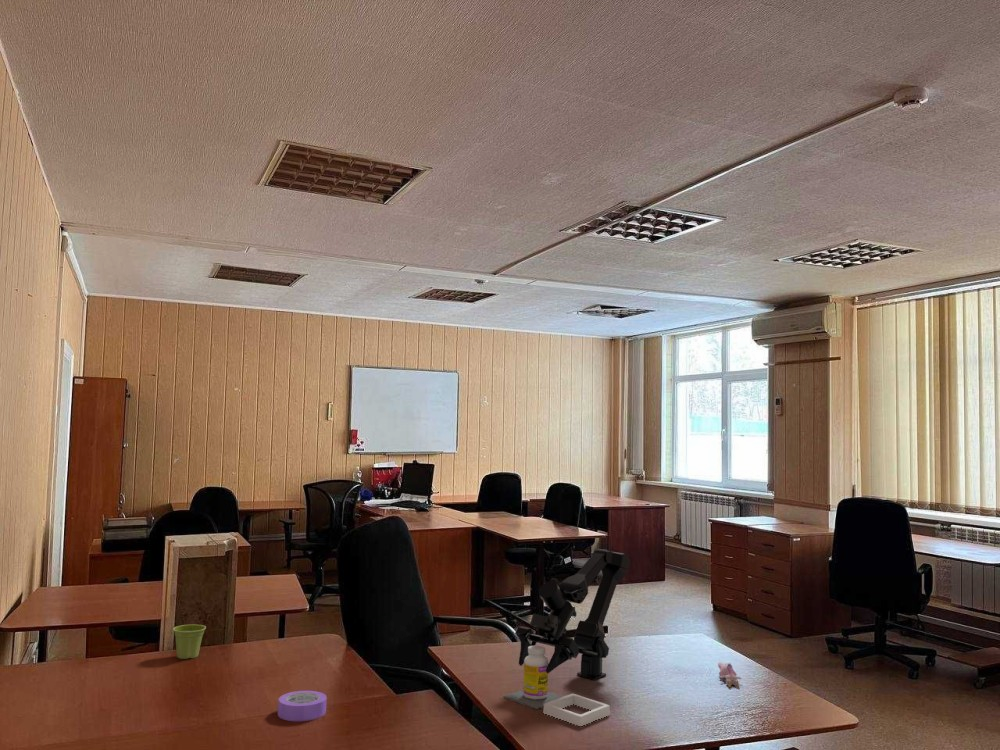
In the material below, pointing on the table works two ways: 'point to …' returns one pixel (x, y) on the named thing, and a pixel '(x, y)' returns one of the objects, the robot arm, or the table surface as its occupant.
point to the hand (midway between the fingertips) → (533, 668)
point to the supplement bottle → (535, 674)
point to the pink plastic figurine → (728, 674)
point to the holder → (596, 713)
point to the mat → (532, 703)
